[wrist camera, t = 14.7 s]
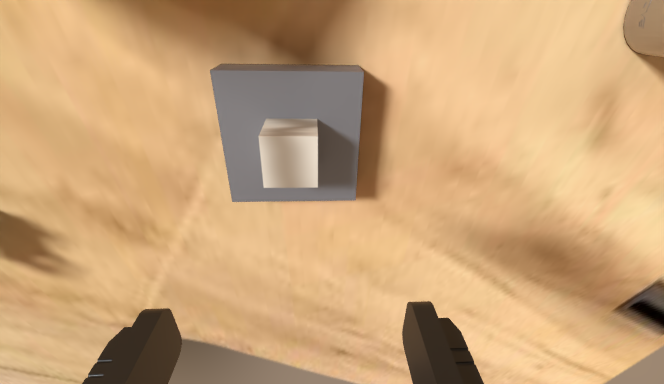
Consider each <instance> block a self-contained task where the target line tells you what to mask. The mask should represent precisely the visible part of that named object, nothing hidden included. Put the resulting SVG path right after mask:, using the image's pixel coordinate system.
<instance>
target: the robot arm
mask: <svg viewBox="0 0 664 384" xmlns="http://www.w3.org/2000/svg"><path fill="white" fill-rule="evenodd" d="M624 35H625V38H626V41H627V43H628V45H629V46H630V47H631V49H633V50H634V51H636V52H637V53H640V54H644V55H651V56H658V57H664V0H631V1H630V3H629V6H628V9H627V12H626V15H625V21H624ZM402 335H403V345H404V350H405V354H406V358H407V362H408V366H409V370H410V374H411V378H412V382H413V384H484V383H483V381H482V378H481V376H480V374H479V372H478V369H477V367H476V365H474V360H473V358H472V356H471V354H470V351H468V347H467V345H466V342H465V340H464V338H463V336H462V333H461V331H460V330H459V329H458V328H457V327H456V326H455V325H454V324H453V322H452V321H451V320H450V319H449V318H438V316H437V314H436V311H435V309H434V306H433V304H432V303H431V302H430V301H428V302H408V304H407V308H406V314H405V319H404V325H403V332H402ZM181 345H182V339H181V335H180V332H179V329H178V327H177V324H176V322H175V319H174V317H173V314H172V312H171V310H170V309H145V310H143V311H142V312H141V313H140V314H139V316H138V317H137V319H136V321H135V322H134V324H133V326H132V327H124V328H123V329H122V330H121V331H120V332H119V333H118V334H117V335H116V336H115V337H114V338H113V339H112V340H111V341H109V342H108V344H107V346H106V347H105V349H104V350H103V352H102V353H101V355H100V357H99V358H98V362H97V363H95V365H94V366H93V368H92V369H91V371H90V372H89V374H88V378H86V379H85V380H84V382H83V383H82V384H168V382H169V380H170V377H171V375H172V372H173V370H174V367H175V365H176V362H177V360H178V357H179V355H180V351H181Z"/></svg>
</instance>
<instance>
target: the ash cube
mask: <svg viewBox="0 0 664 384" xmlns="http://www.w3.org/2000/svg"><path fill="white" fill-rule="evenodd" d="M258 137H259V146H260V156H261V166H262V176H263V186H264V188H315V187H318V128H317V119H266V120H265V122H264V125H263V127H262V129H261V132H260V134H259V136H258Z"/></svg>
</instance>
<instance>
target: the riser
mask: <svg viewBox="0 0 664 384" xmlns="http://www.w3.org/2000/svg"><path fill="white" fill-rule="evenodd" d="M210 73H211V79H212V85H213V91H214V97H215V103H216V109H217V114H218V120H219V126H220V132H221V138H222V144H223V150H224V156H225V161H226V167H227V173H228V179H229V185H230V191H231V197H232V202H258V201H337V200H356V185H357V170H358V154H359V139H360V124H361V109H362V94H363V79H364V71H363V70H362V69H361V68H360V67H359V65H278V64H220V65H218V66H217V67H215V68H213V69H211V70H210ZM266 119H317V128H318V187H315V188H264V186H263V176H262V166H261V156H260V146H259V137H258V136H259V134H260V132H261V129H262V127H263V125H264V122H265V120H266Z"/></svg>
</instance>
